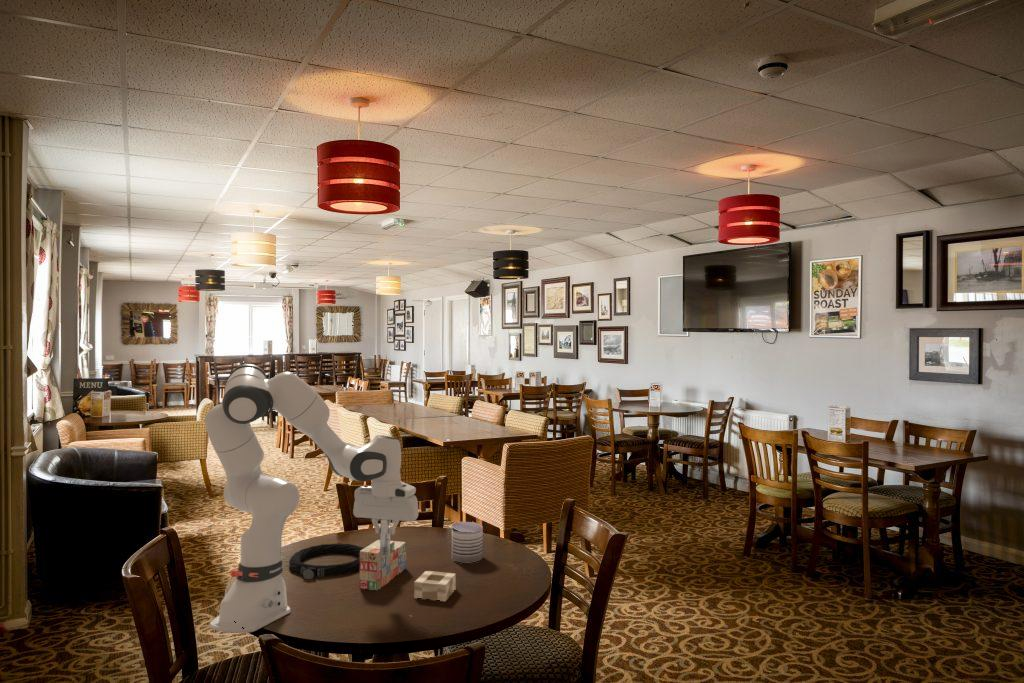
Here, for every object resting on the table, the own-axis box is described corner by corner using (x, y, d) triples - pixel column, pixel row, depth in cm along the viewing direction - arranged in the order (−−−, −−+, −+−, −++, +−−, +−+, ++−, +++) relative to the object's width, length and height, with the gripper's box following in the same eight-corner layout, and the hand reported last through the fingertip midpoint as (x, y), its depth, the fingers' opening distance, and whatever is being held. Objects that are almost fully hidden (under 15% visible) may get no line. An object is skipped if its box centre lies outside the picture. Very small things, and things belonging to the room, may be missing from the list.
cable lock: (382, 544, 244) (347, 572, 214) (381, 554, 244) (347, 584, 214) (312, 539, 249) (269, 566, 219) (312, 549, 249) (269, 577, 219)
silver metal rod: (387, 555, 201) (388, 509, 201) (378, 554, 202) (379, 508, 202) (391, 552, 204) (392, 506, 204) (382, 551, 205) (383, 506, 205)
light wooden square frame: (445, 601, 200) (445, 584, 200) (414, 598, 202) (414, 581, 202) (455, 589, 210) (455, 573, 210) (425, 586, 212) (425, 570, 212)
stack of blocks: (390, 567, 230) (390, 531, 230) (406, 568, 228) (406, 533, 228) (359, 589, 209) (359, 550, 209) (377, 591, 208) (377, 552, 208)
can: (466, 551, 247) (466, 519, 247) (489, 558, 240) (489, 524, 240) (444, 559, 238) (444, 525, 238) (467, 566, 231) (467, 531, 231)
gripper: (350, 488, 202) (349, 533, 202) (413, 492, 198) (412, 538, 198) (359, 484, 209) (358, 528, 208) (420, 488, 204) (419, 533, 204)
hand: (385, 533), depth 203 cm, fingers closed on silver metal rod, 3 cm apart
